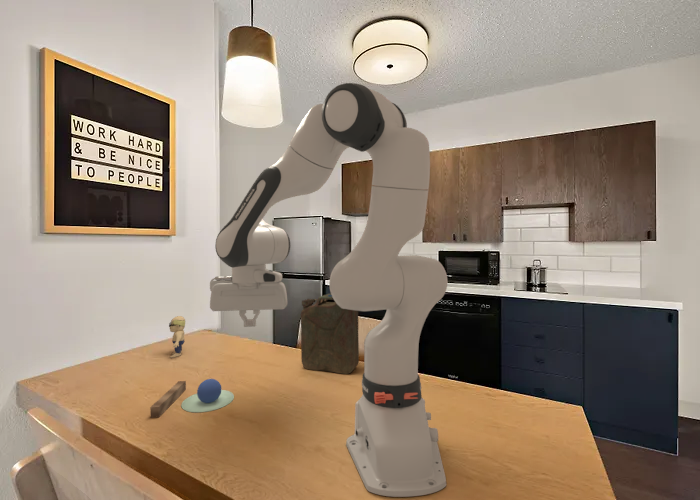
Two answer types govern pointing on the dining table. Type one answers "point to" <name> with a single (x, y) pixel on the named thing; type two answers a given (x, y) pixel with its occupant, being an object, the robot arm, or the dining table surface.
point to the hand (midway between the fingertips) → (249, 326)
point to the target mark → (198, 406)
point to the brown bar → (167, 399)
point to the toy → (177, 334)
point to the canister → (329, 336)
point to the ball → (209, 391)
